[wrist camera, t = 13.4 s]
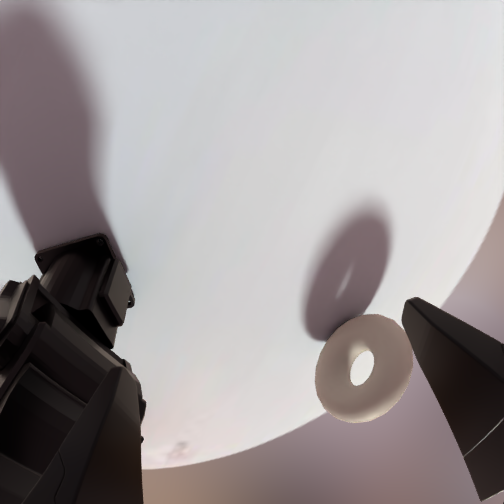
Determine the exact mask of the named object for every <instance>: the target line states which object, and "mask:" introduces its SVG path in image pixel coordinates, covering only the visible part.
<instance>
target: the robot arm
mask: <svg viewBox="0 0 504 504" xmlns="http://www.w3.org/2000/svg"><path fill="white" fill-rule="evenodd" d="M98 239H101V240H102V241H103V243H100V242H99V241H98ZM40 257H41V258H42V259H40ZM35 261H36V263H37V265H38V267H39V269H40V271H41V272H42V274H43V275H42V276H41V278H40V280H39V279H38V278H37V277H36V276H35V275H33V276H32V277H30V278H29V279H28V280H26V281H24V282H23V283H22V282H20V283H19V282H16V281H12V280H9V281H8V282H7V283H6V284H5V286H4V287H3V289H2V290H1V292H0V504H143V489H142V467H141V443H142V442H143V440H144V438H143V437H142V436H141V424H142V421H143V419H144V416H145V409H146V401H145V400H144V399H142V391H141V384H140V382H139V380H138V379H137V377H136V375H135V374H133V373H132V369H131V365H130V363H128V362H127V361H126V360H125V359H121V358H120V357H119V356H117V355H116V354H115V353H114V352H113V351H111V350H110V349H112V348H113V347H114V343H115V338H116V333H117V328H118V327H119V326H122V325H123V323H124V320H125V315H126V310H127V308H131V307H133V306H134V304H135V298H134V296H133V294H132V292H131V284H130V282H129V280H128V278H127V275H126V273H125V271H124V269H123V267H122V264H121V262H120V260H118V259H117V258H116V257H115V255H114V252H113V250H112V248H111V245H110V243H109V241H108V238H107V237H106V235H104V234H102V233H99V234H95V235H91V236H88V237H84V238H81V239H77V240H74V241H71V242H67V243H64V244H61V245H57V246H54V247H51V248H47V249H44V250H41V251H38V252H37V254H36V255H35ZM128 301H130V302H128ZM402 325H403V327H404V329H405V332H406V334H407V336H408V339H409V341H410V344H411V346H412V349H413V351H414V354H415V356H416V358H417V361H418V363H419V365H420V367H421V369H422V371H423V373H424V375H425V377H426V378H427V380H428V382H429V384H430V386H431V388H432V390H433V392H434V394H435V396H436V398H437V400H438V402H439V404H440V406H441V409H442V410H443V413H444V415H445V417H446V419H447V421H448V423H449V426H450V428H451V430H452V432H453V434H454V437H455V439H456V441H457V443H458V446H459V448H460V450H461V453H462V455H463V457H464V460H465V463H466V465H467V468H468V470H469V472H470V475H471V478H472V480H473V483H474V485H475V488H476V491H477V493H478V496H479V499H480V501H481V502H482V501H484V500H486V499H488V498H490V497H492V496H494V495H496V494H498V493H500V492H501V491H503V490H504V344H503V343H501V342H499V341H497V340H496V339H494V338H492V337H490V336H489V335H487V334H485V333H483V332H482V331H480V330H478V329H476V328H474V327H473V326H471V325H469V324H467V323H465V322H463V321H462V320H460V319H458V318H456V317H454V316H452V315H451V314H449V313H447V312H445V311H443V310H441V309H439V308H438V307H436V306H434V305H432V304H430V303H428V302H426V301H424V300H423V299H421V298H419V297H414V298H411V299H408V300H406V302H405V305H404V309H403V314H402ZM503 504H504V503H503Z"/></svg>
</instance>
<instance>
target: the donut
mask: <svg viewBox="0 0 504 504" xmlns="http://www.w3.org/2000/svg"><path fill="white" fill-rule="evenodd" d="M364 351H371V352H372V354H373V356H374V367H373V370H372V373H371V374H370V376H369V378H368V379H367V380H366V381H365V382H364V383H363V384H361V385H358V386H354V385H353V384H352V382H351V379H350V371H351V367H352V364H353V362H354V361H355V359H356V358H357V357H358V356H359V355H360V354H361V353H362V352H364ZM412 368H413V355H412V346H411V344H410V341H409V339H408V336H407V334H406V332H405V331H404V330H403V329H402V328H401V327H400V326H399V325H398V324H397V323H396V322H395V321H394V320H392V319H390V318H387V317H385V316H382V315H379V314H367V315H361V316H358V317H356V318H353V319H350V320H348V321H347V322H346V323H344V324H343V325H342V326H340V327H339V328H337V330H336V331H335V332H334V333H333V334H332V335H331V337H330V338H329V339H328V340H327V342H326V344H325V345H324V347H323V349H322V351H321V353H320V356H319V359H318V362H317V365H316V374H315V386H316V391H317V396H318V398H319V400H320V401H321V403H322V405H323V407H324V408H325V410H326V411H328V412H329V413H330V414H331V415H332V416H334V417H335V418H337V419H339V420H343V421H346V422H350V423H357V422H366V421H371V420H373V419H375V418H377V417H379V416H381V415H383V414H385V413H386V412H387V411H389V410H390V409H391V408H392V406H394V405H395V404H396V403H397V402H398V401H399V399H400V398H401V396H402V394H403V393H404V391H405V389H406V387H407V386H408V384H409V380H410V376H411V372H412Z"/></svg>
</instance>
